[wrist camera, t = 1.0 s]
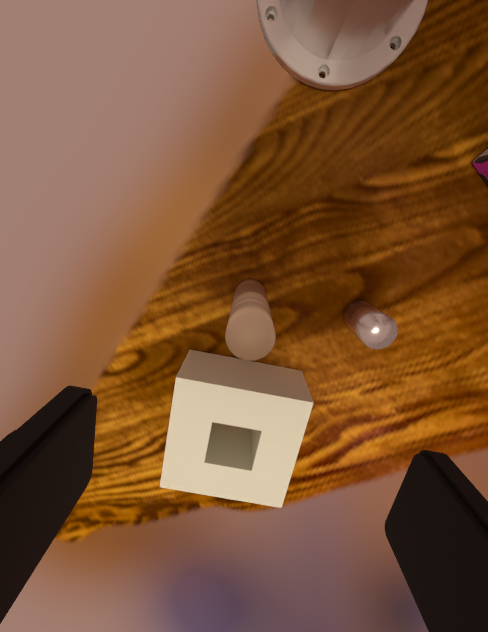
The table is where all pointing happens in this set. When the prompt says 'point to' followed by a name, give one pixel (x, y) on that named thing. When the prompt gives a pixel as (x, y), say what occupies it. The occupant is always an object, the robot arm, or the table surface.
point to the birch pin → (250, 322)
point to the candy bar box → (482, 165)
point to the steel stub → (370, 325)
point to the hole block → (235, 428)
